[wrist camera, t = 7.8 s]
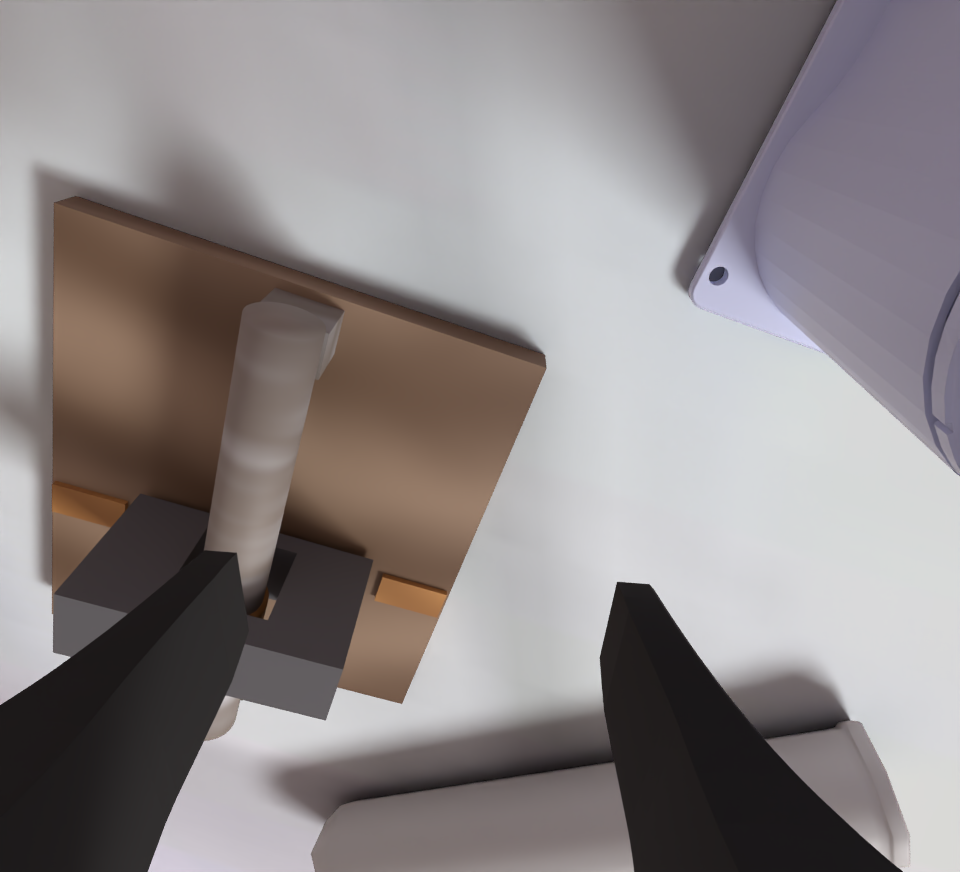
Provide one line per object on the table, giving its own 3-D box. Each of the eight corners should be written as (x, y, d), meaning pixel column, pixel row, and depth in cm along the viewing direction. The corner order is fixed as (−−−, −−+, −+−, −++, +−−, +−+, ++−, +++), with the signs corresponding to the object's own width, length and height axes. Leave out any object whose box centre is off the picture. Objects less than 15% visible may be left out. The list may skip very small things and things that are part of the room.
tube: (342, 934, 31) (900, 876, 26) (284, 925, 27) (923, 855, 22) (351, 810, 35) (844, 737, 30) (300, 786, 31) (855, 698, 26)
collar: (140, 493, 21) (53, 594, 17) (373, 559, 22) (343, 670, 18) (135, 546, 23) (53, 652, 19) (357, 607, 24) (325, 720, 20)
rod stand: (75, 196, 18) (-50, 234, 14) (545, 354, 20) (553, 429, 16) (67, 595, 26) (-15, 694, 22) (405, 683, 28) (387, 789, 24)
